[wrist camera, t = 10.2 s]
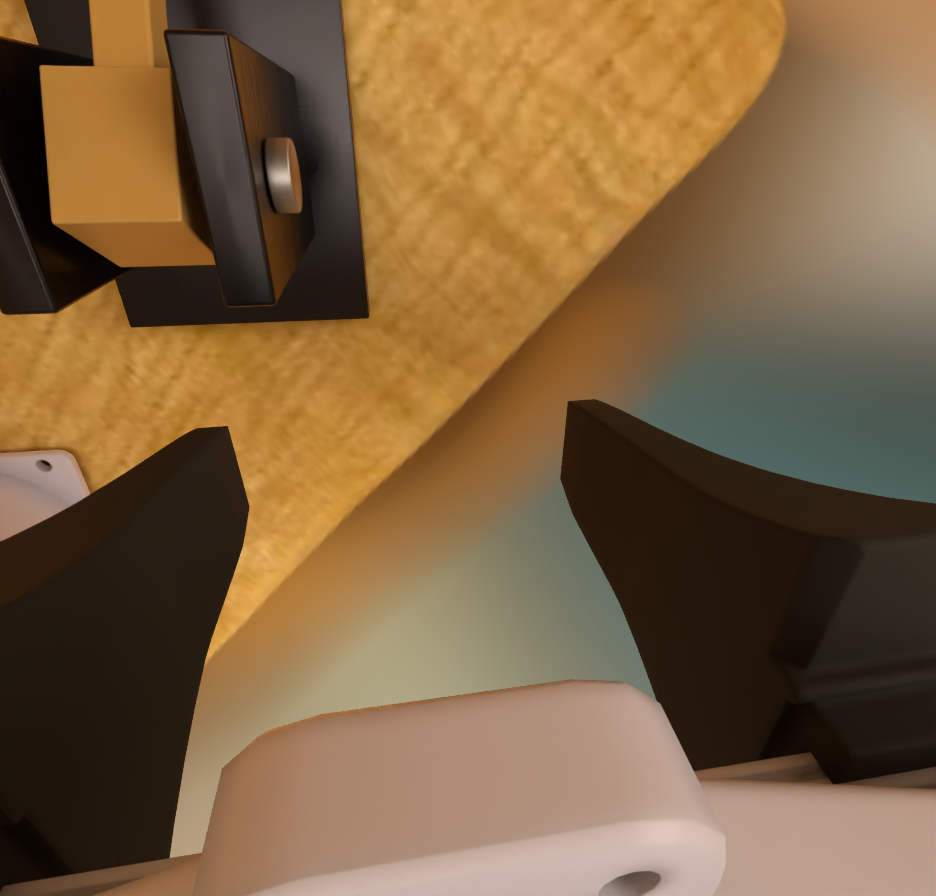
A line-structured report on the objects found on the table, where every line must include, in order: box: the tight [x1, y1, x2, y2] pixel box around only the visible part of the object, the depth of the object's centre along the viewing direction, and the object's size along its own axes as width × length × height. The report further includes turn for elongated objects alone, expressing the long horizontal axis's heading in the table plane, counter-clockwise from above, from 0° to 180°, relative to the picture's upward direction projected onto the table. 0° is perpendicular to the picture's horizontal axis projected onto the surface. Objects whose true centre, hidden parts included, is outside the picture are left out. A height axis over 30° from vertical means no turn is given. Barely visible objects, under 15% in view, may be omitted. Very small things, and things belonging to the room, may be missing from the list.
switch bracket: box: [0, 0, 369, 327], centre depth 13 cm, size 10×8×9 cm
